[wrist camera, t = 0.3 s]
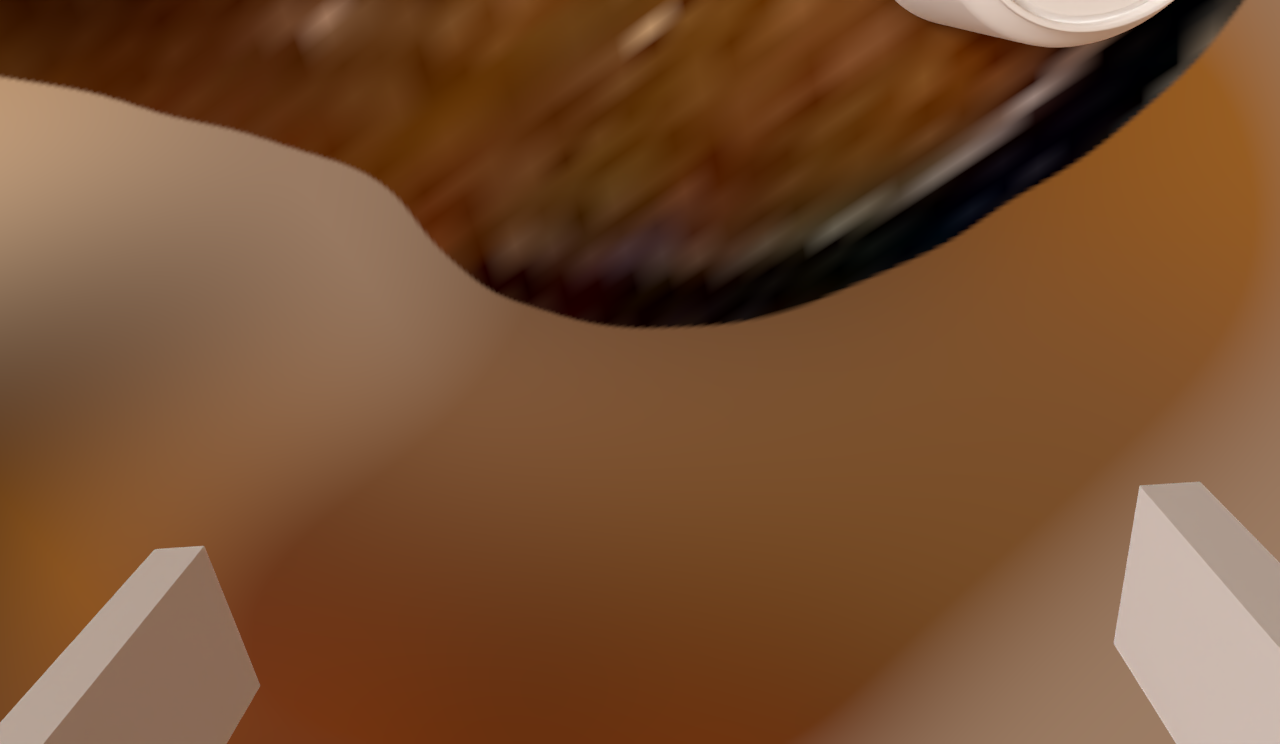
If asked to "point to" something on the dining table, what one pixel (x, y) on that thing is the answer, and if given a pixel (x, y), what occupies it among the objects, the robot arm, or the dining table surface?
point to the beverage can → (1039, 18)
